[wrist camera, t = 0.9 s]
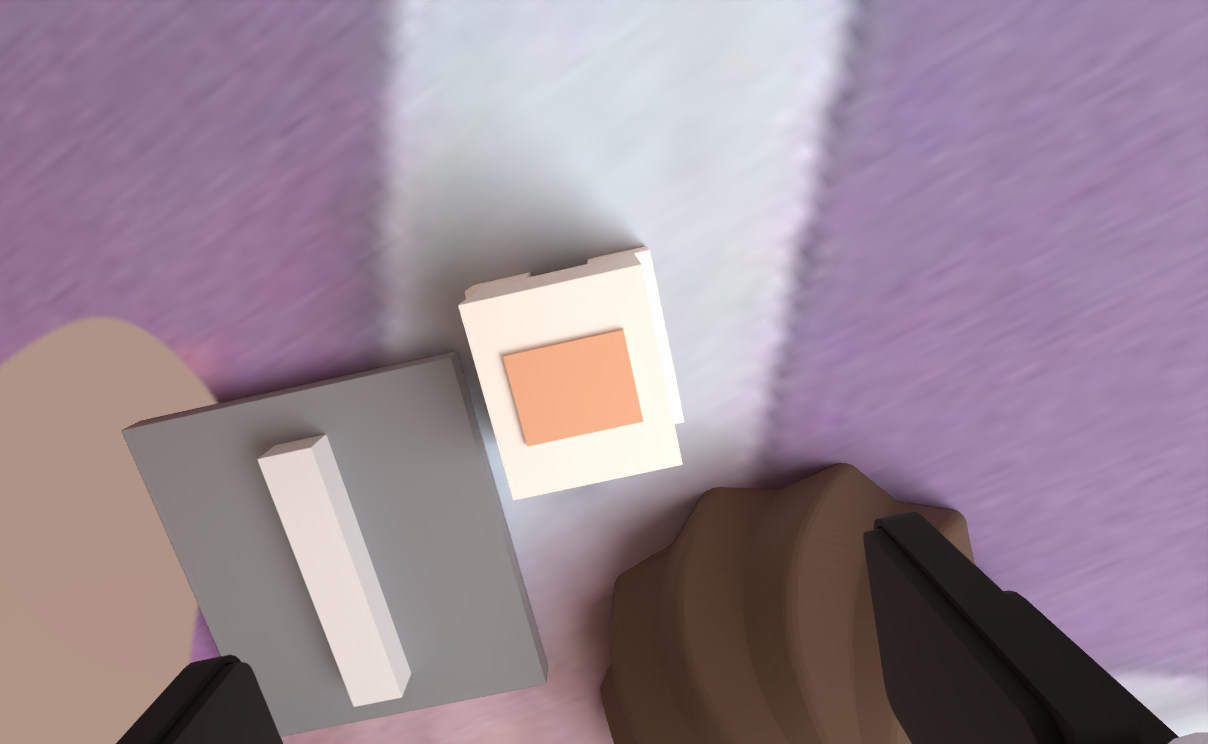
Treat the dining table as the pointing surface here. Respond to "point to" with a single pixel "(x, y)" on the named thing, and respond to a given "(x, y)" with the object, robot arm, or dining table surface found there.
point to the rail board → (399, 521)
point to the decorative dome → (760, 621)
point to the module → (576, 373)
